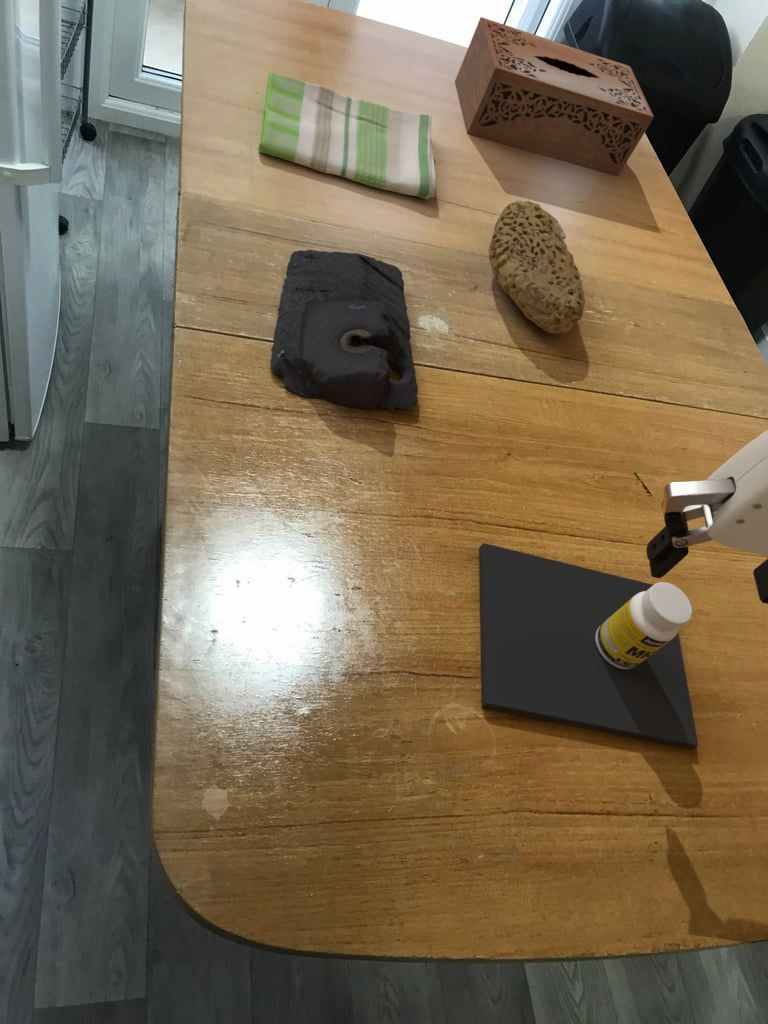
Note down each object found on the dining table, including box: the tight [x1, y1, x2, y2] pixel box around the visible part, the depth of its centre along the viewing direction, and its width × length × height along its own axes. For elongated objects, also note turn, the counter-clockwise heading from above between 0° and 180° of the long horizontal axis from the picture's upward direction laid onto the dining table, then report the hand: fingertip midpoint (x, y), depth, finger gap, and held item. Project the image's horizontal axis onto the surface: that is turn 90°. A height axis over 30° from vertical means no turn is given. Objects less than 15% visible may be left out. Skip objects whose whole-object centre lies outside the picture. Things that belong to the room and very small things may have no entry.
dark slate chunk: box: [269, 249, 419, 411], centre depth 88 cm, size 15×22×5 cm
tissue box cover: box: [454, 16, 655, 177], centre depth 127 cm, size 26×14×10 cm, turn 95°
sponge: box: [488, 200, 586, 335], centre depth 103 cm, size 13×8×20 cm
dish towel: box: [257, 71, 437, 200], centre depth 110 cm, size 17×23×4 cm
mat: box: [478, 542, 699, 750], centre depth 76 cm, size 20×16×1 cm
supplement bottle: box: [595, 581, 693, 669], centre depth 73 cm, size 5×5×8 cm
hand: (707, 575), depth 66 cm, fingers open, 9 cm apart
